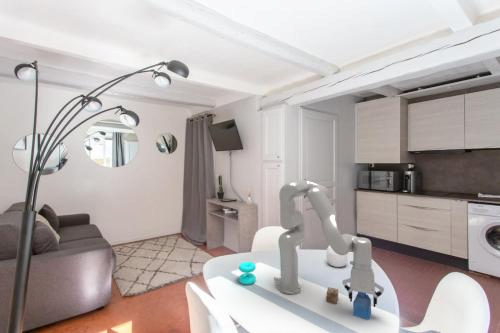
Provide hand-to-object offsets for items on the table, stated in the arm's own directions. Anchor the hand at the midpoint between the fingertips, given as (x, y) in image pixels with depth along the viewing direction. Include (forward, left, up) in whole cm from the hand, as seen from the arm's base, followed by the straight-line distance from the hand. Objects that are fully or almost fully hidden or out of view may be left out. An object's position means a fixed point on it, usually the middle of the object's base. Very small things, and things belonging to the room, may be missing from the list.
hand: (362, 302), depth 112 cm
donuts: (-62, +6, -6) cm, 63 cm away
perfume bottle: (0, 0, -6) cm, 6 cm away
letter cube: (-14, +6, -5) cm, 16 cm away
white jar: (-17, +50, -6) cm, 53 cm away
